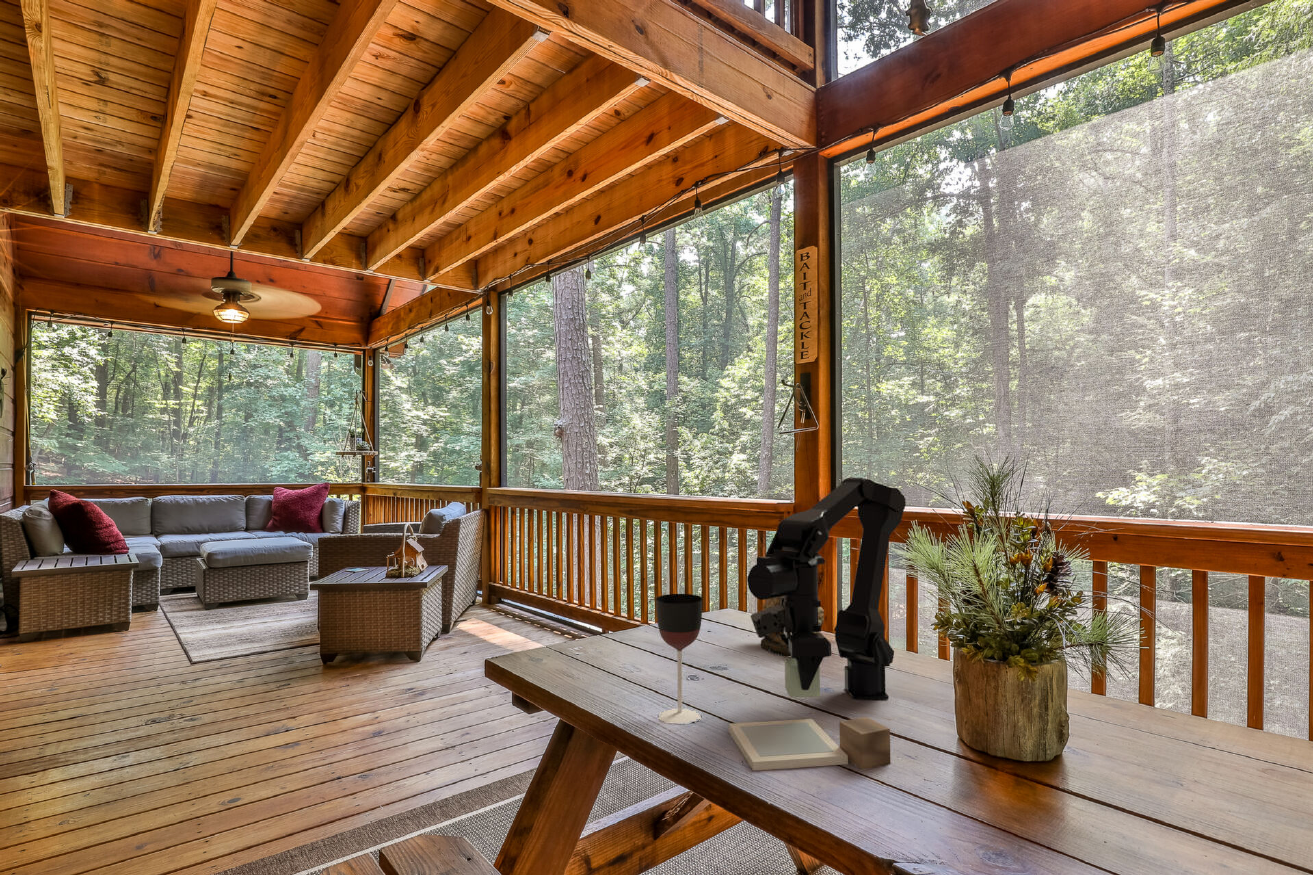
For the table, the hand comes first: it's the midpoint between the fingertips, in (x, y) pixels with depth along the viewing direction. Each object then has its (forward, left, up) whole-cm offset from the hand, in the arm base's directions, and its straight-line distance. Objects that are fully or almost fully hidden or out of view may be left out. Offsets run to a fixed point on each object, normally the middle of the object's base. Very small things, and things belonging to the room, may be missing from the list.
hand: (802, 684), depth 113 cm
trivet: (+5, +12, -6) cm, 14 cm away
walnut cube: (-6, +16, -6) cm, 18 cm away
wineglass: (+21, 0, -6) cm, 22 cm away
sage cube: (0, 0, -1) cm, 1 cm away
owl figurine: (-5, -42, -6) cm, 43 cm away
